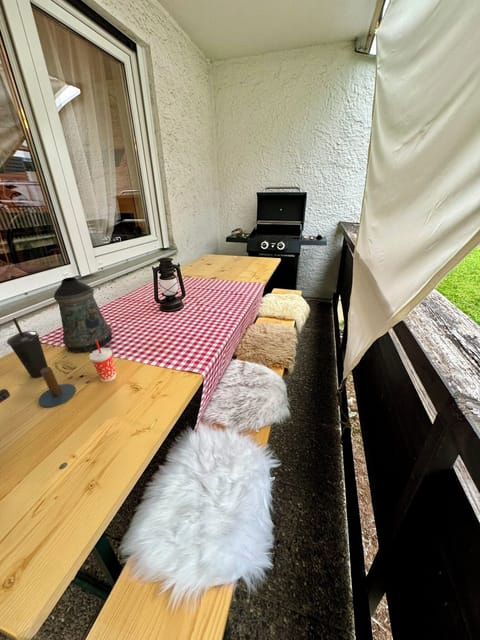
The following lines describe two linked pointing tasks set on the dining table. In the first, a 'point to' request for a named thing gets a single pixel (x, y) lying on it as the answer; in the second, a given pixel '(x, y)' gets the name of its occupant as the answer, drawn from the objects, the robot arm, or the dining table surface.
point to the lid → (55, 390)
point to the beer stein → (81, 317)
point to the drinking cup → (28, 350)
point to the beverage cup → (103, 363)
